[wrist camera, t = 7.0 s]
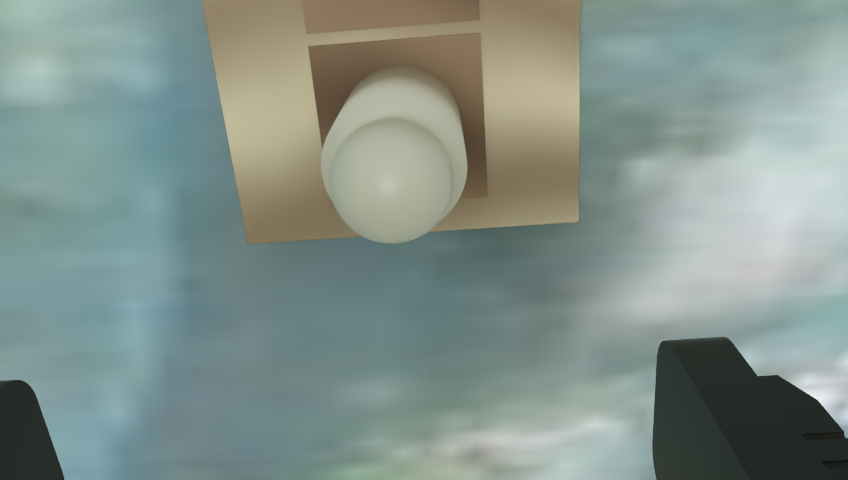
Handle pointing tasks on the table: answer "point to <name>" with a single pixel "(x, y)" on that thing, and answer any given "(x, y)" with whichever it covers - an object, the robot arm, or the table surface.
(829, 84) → the table surface
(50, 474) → the robot arm
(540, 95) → the board
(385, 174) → the pawn
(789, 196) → the table surface
